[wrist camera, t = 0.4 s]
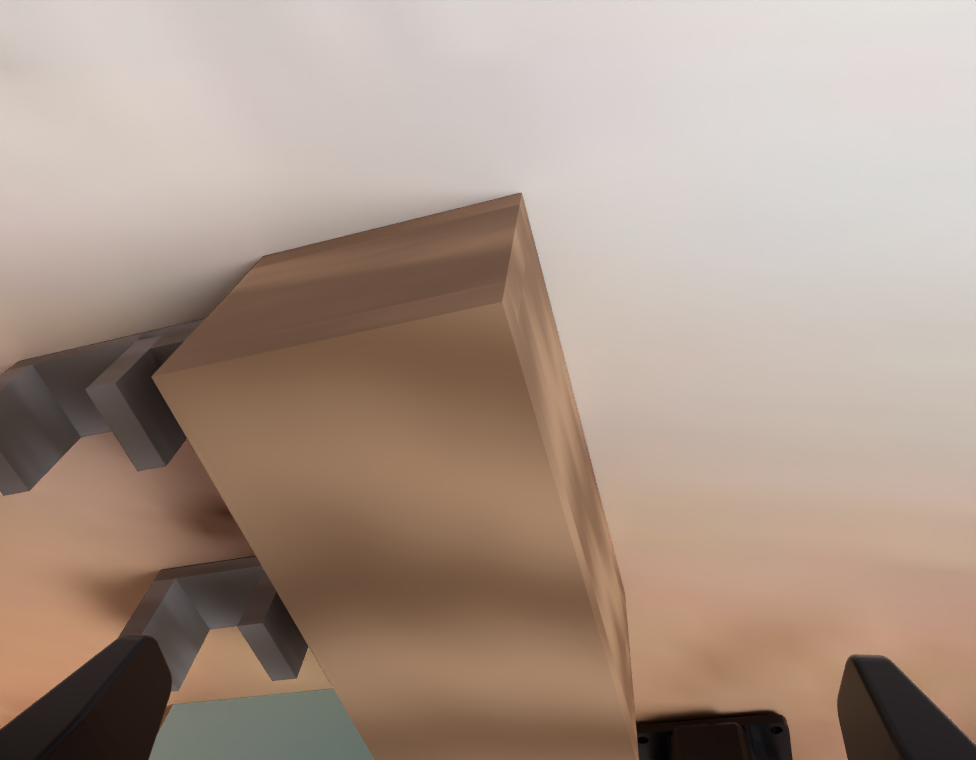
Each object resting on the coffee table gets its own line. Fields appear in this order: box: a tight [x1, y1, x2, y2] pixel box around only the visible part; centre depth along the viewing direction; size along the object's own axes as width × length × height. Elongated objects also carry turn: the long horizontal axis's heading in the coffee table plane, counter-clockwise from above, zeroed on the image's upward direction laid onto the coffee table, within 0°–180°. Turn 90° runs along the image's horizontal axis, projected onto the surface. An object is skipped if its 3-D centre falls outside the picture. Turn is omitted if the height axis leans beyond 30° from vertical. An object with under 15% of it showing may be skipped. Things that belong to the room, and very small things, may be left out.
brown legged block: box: [0, 193, 639, 760], centre depth 23 cm, size 16×18×7 cm
